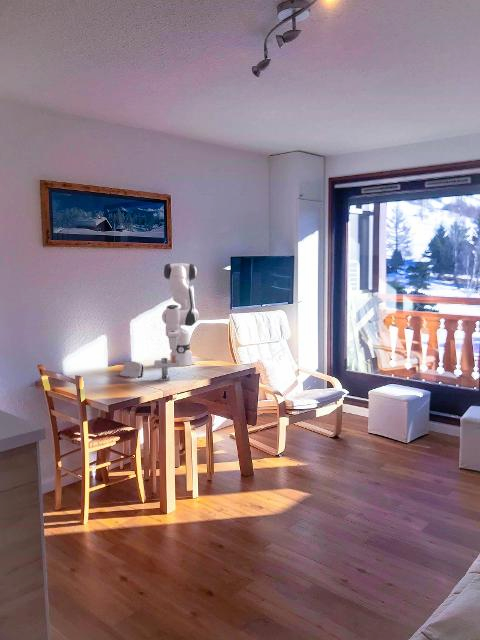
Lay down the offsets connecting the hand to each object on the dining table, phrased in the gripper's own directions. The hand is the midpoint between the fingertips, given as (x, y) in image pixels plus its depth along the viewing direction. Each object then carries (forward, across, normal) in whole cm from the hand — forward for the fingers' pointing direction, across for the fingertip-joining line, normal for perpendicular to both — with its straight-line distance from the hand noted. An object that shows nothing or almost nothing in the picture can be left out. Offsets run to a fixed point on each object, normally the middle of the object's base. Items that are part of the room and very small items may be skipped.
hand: (173, 355), depth 333 cm
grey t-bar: (+15, 0, -4) cm, 15 cm away
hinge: (+15, -15, -26) cm, 34 cm away
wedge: (+5, 0, 0) cm, 5 cm away
